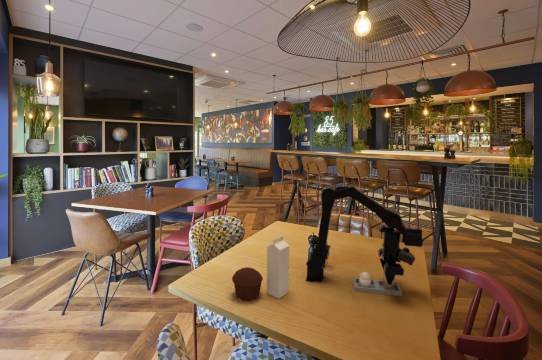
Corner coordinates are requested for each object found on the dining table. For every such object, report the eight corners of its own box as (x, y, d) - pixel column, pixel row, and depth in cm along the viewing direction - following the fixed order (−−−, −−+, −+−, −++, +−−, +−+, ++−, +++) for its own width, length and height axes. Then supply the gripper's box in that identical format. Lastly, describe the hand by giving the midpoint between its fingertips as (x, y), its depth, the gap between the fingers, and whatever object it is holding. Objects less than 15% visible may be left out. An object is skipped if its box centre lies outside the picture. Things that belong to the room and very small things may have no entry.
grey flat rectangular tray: (354, 291, 113) (354, 287, 113) (353, 281, 121) (353, 277, 120) (401, 297, 109) (402, 292, 109) (397, 286, 117) (397, 282, 117)
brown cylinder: (383, 286, 112) (384, 271, 111) (381, 281, 116) (382, 266, 115) (395, 287, 111) (396, 272, 110) (393, 282, 115) (394, 267, 114)
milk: (288, 292, 112) (290, 237, 109) (278, 299, 107) (280, 242, 104) (276, 287, 116) (277, 234, 113) (266, 293, 111) (267, 238, 108)
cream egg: (359, 289, 114) (360, 274, 113) (358, 283, 118) (359, 269, 117) (371, 290, 113) (372, 275, 112) (369, 284, 117) (370, 270, 117)
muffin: (267, 291, 113) (268, 267, 111) (254, 306, 103) (254, 279, 101) (241, 284, 118) (241, 261, 116) (226, 298, 108) (225, 272, 106)
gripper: (421, 254, 100) (417, 296, 103) (408, 237, 119) (405, 273, 121) (387, 251, 103) (384, 293, 105) (379, 234, 121) (376, 270, 123)
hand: (388, 281), depth 113 cm, fingers closed on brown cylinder, 4 cm apart
